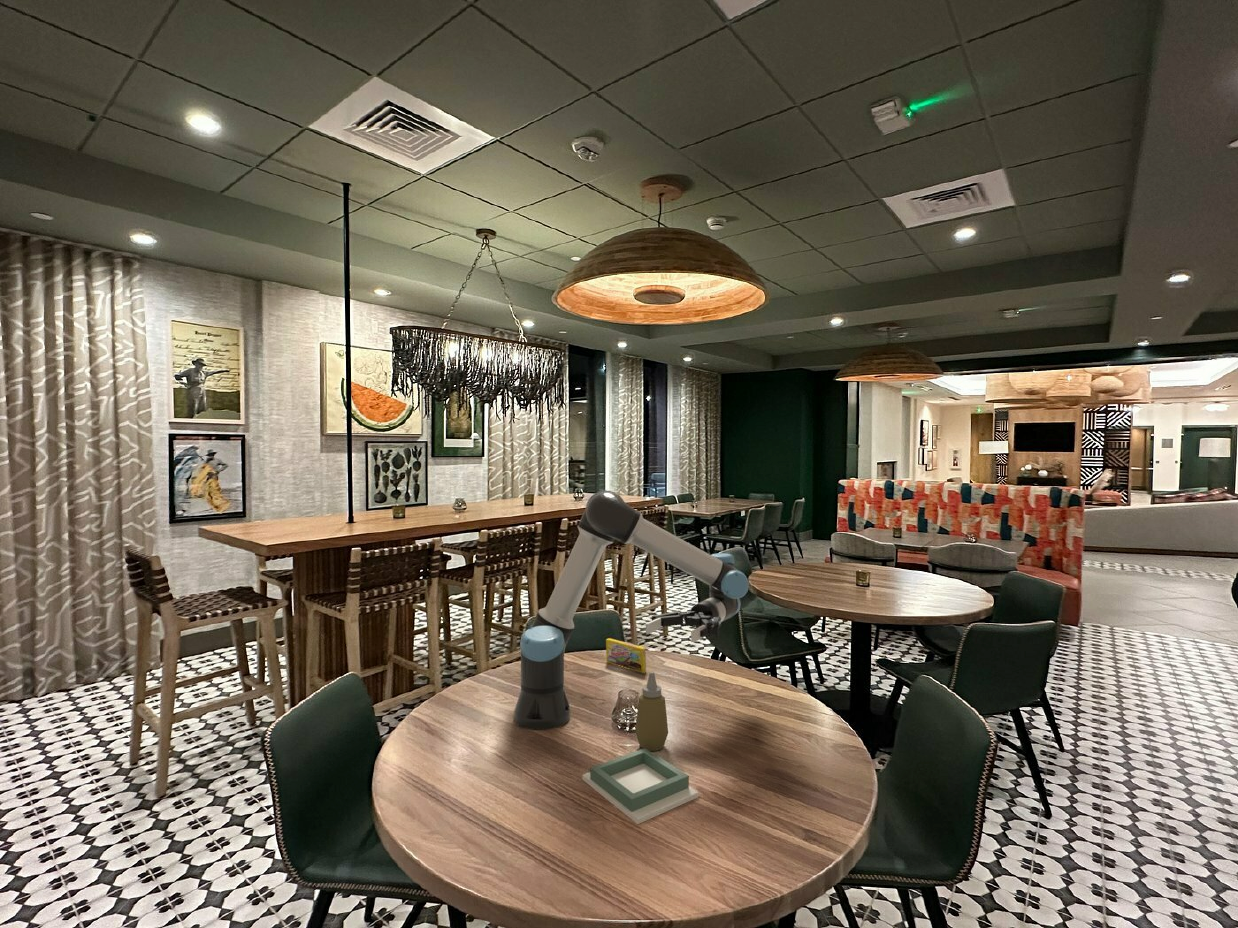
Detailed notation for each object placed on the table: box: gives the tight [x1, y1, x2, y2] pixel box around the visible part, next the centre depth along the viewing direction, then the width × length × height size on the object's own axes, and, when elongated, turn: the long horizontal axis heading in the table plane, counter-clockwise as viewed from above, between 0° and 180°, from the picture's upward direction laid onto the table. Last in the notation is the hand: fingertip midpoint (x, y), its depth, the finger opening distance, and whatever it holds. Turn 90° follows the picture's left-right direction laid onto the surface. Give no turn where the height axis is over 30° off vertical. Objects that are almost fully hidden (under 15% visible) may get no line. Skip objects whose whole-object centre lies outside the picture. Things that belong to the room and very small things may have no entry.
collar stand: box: [581, 748, 700, 825], centre depth 128 cm, size 20×16×4 cm
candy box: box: [605, 637, 647, 674], centre depth 203 cm, size 16×2×8 cm, turn 50°
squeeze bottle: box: [635, 671, 669, 752], centre depth 147 cm, size 8×8×18 cm
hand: (669, 632), depth 154 cm, fingers open, 13 cm apart
